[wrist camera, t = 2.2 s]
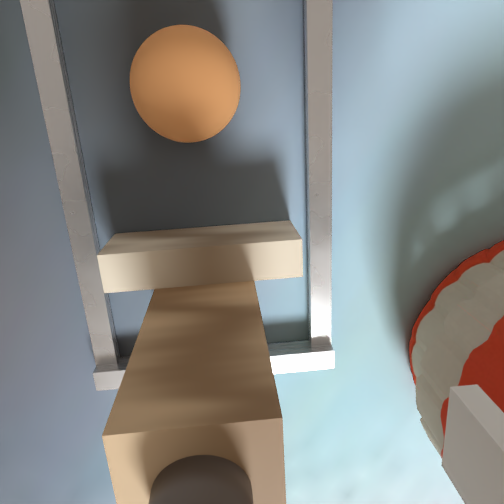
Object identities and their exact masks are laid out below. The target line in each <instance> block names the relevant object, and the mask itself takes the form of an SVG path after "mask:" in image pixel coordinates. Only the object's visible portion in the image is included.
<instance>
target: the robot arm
mask: <svg viewBox="0 0 504 504" xmlns="http://www.w3.org/2000/svg"><path fill="white" fill-rule="evenodd" d="M442 467H443V468H444V470H445V472H446V473H447V475H448V477H449V478H450V480H451V481H452V483H453V485H454V486H455V488H456V490H457V491H458V493H459V495H460V496H461V498H462V499H463V501H464V503H465V504H504V413H503V412H502V410H501V409H500V408H499V407H498V406H497V405H496V404H495V403H494V402H493V401H492V400H491V399H490V398H489V396H488V395H487V394H486V393H485V392H484V391H483V390H482V389H481V388H480V387H479V386H478V385H477V384H476V385H465V386H454V387H450V393H449V402H448V411H447V421H446V430H445V439H444V448H443V457H442Z"/></svg>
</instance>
